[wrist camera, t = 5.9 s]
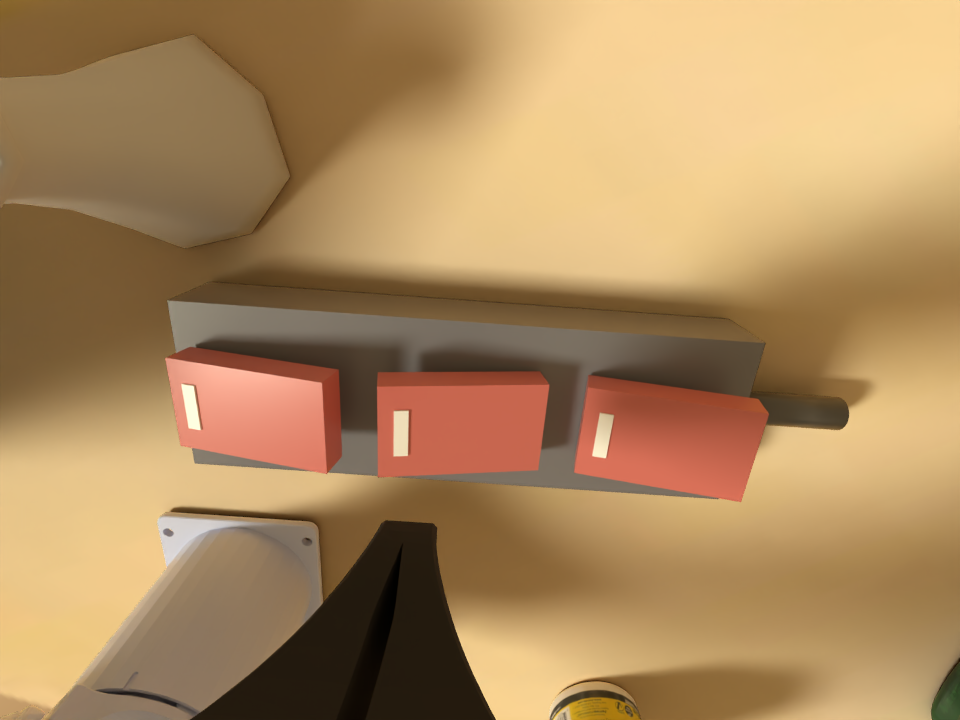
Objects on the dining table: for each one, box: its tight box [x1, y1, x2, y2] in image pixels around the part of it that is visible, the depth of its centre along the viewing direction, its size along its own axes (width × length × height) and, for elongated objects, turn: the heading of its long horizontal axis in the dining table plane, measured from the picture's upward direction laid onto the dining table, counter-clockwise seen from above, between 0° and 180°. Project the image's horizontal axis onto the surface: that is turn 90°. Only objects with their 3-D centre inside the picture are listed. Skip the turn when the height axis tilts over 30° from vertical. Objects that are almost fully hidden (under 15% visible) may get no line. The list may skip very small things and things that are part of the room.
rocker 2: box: [377, 371, 549, 477], centre depth 18 cm, size 4×6×1 cm, turn 86°
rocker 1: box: [165, 347, 342, 474], centre depth 18 cm, size 4×6×1 cm, turn 86°
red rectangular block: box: [574, 375, 769, 502], centre depth 18 cm, size 4×6×1 cm, turn 86°
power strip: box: [167, 282, 849, 499], centre depth 21 cm, size 7×27×3 cm, turn 86°
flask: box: [0, 34, 290, 248], centre depth 15 cm, size 7×7×10 cm
